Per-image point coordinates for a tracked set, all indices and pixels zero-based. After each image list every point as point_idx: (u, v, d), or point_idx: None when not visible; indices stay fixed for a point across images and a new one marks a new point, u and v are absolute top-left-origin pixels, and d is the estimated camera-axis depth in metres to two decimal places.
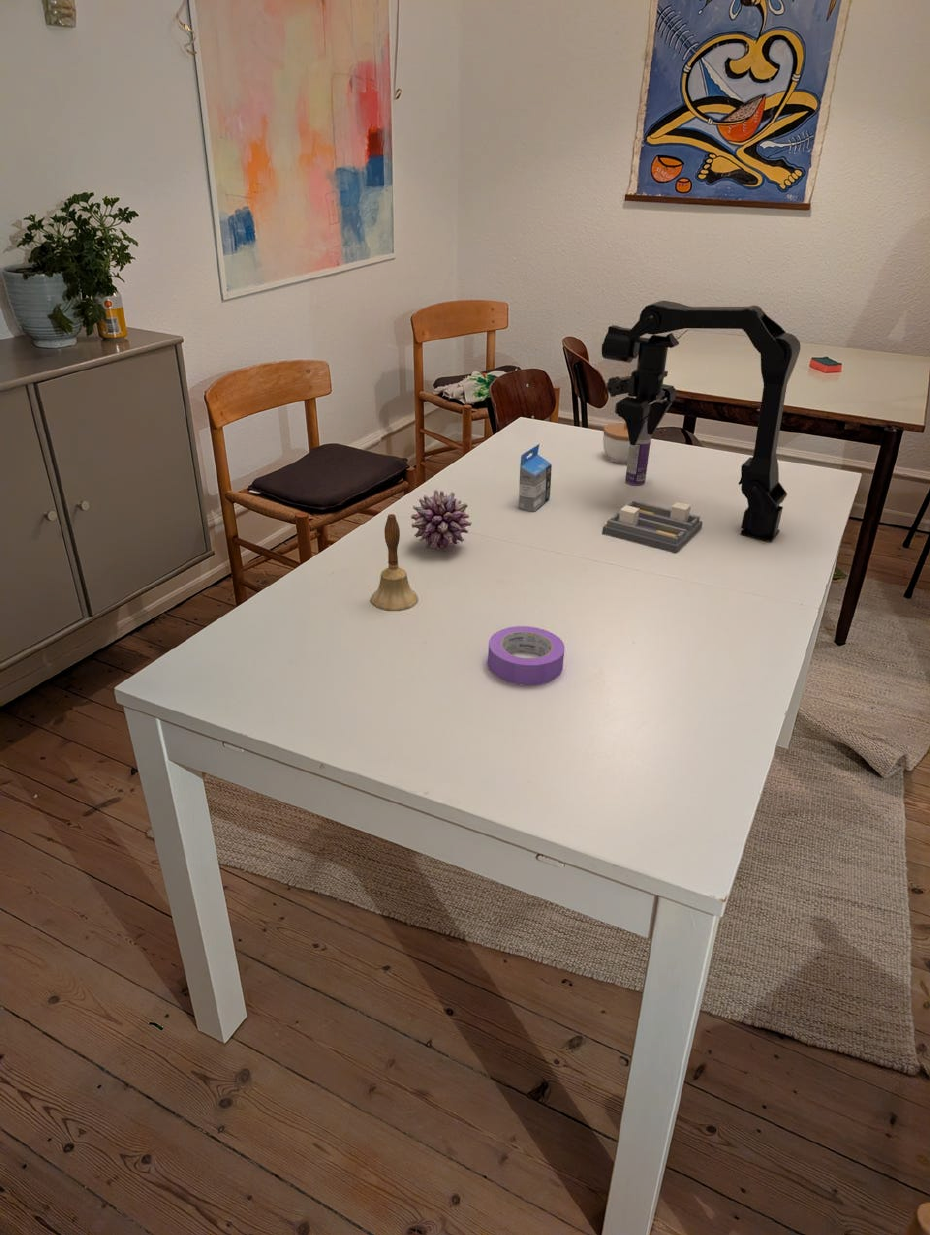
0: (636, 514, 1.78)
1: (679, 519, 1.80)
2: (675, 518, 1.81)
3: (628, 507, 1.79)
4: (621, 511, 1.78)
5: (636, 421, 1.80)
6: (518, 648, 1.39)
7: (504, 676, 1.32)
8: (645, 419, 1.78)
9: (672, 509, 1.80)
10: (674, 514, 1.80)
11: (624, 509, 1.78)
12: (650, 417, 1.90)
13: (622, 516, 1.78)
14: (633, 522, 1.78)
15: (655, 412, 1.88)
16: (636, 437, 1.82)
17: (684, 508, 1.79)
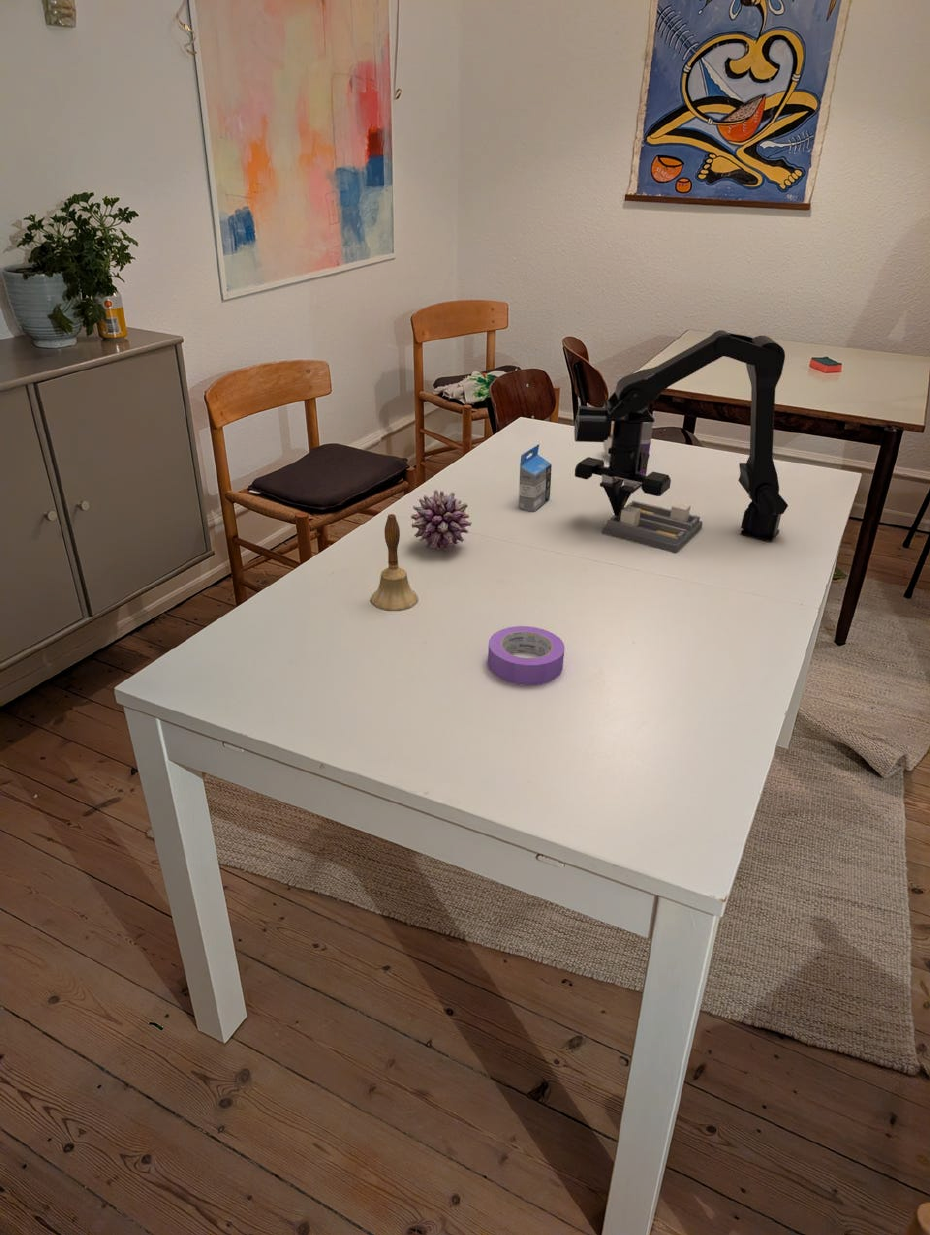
0: (637, 515, 1.78)
1: (679, 519, 1.80)
2: (675, 518, 1.81)
3: (629, 507, 1.79)
4: (622, 511, 1.78)
5: None
6: (518, 648, 1.39)
7: (504, 676, 1.32)
8: (604, 486, 1.76)
9: (672, 509, 1.80)
10: (674, 514, 1.80)
11: (625, 509, 1.78)
12: None
13: (623, 516, 1.78)
14: (634, 523, 1.78)
15: None
16: None
17: (684, 508, 1.79)
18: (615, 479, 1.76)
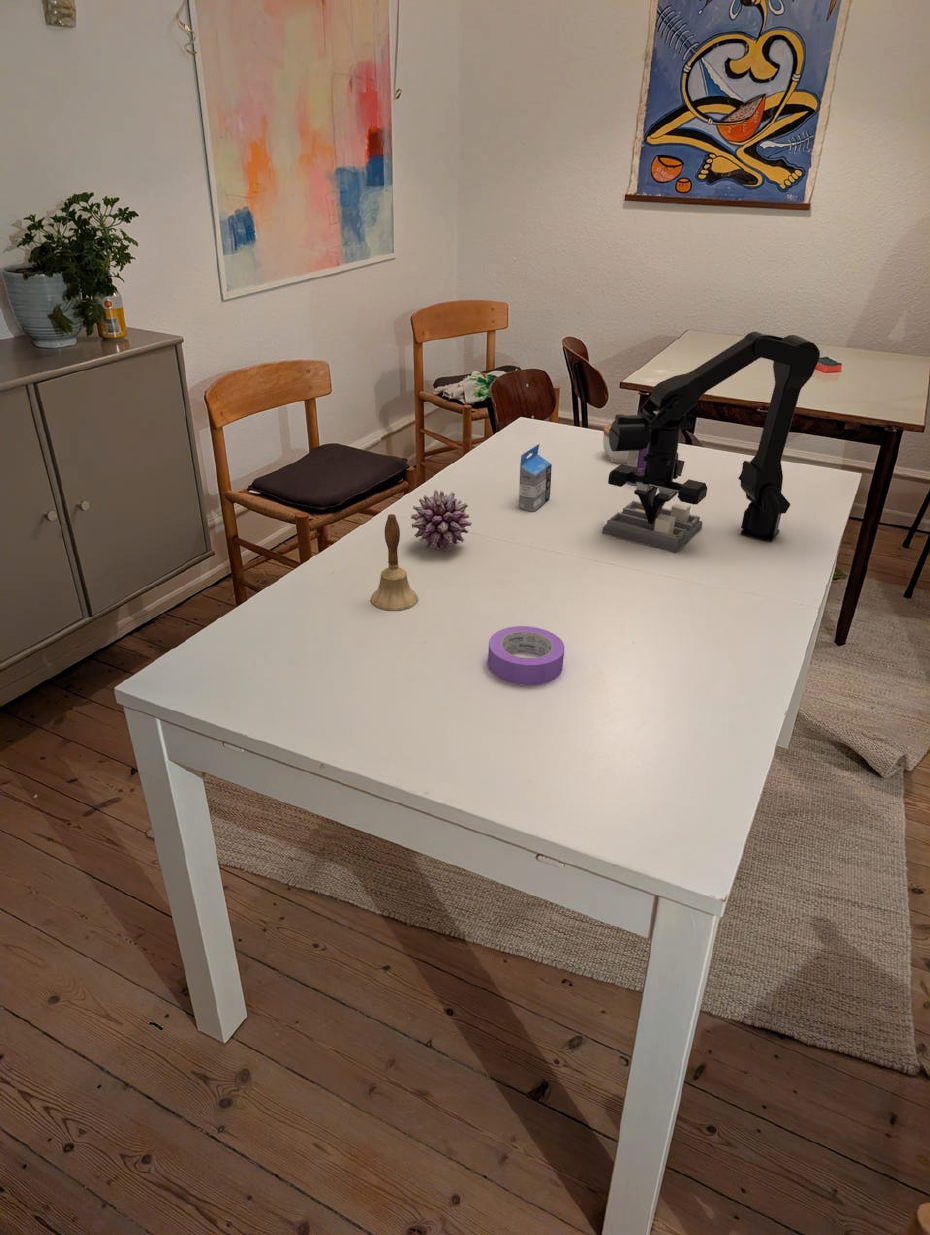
0: (672, 523, 1.74)
1: (679, 519, 1.80)
2: (675, 518, 1.81)
3: (663, 515, 1.76)
4: (657, 520, 1.74)
5: None
6: (518, 648, 1.39)
7: (504, 676, 1.32)
8: (638, 494, 1.72)
9: (672, 509, 1.80)
10: (674, 514, 1.80)
11: (660, 518, 1.74)
12: None
13: (658, 525, 1.75)
14: (669, 532, 1.74)
15: None
16: None
17: (684, 508, 1.79)
18: (650, 487, 1.73)
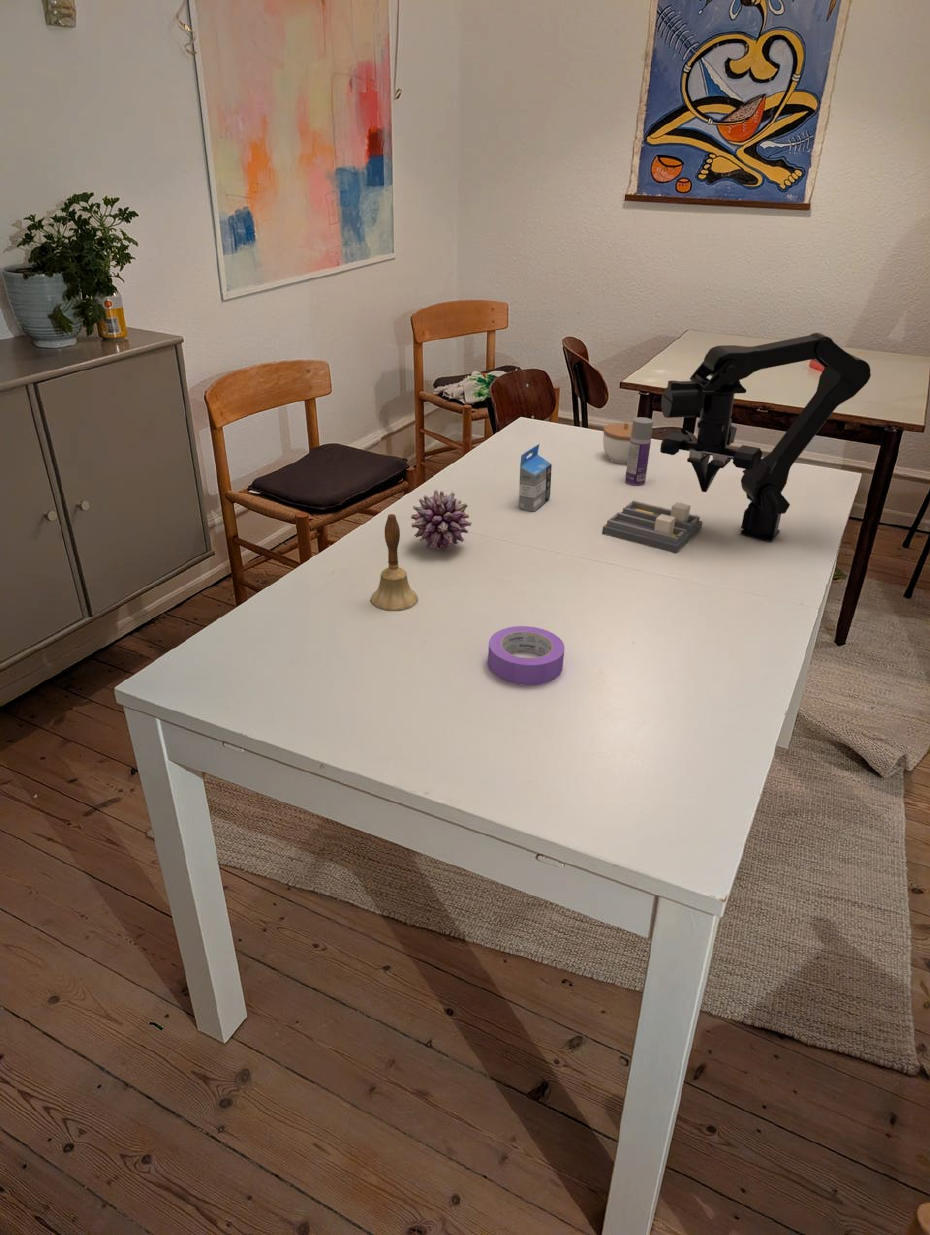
0: (672, 523, 1.74)
1: (679, 519, 1.80)
2: (675, 518, 1.81)
3: (663, 515, 1.76)
4: (657, 520, 1.74)
5: None
6: (518, 648, 1.39)
7: (504, 676, 1.32)
8: (692, 462, 1.71)
9: (672, 509, 1.80)
10: (674, 514, 1.80)
11: (660, 518, 1.74)
12: None
13: (658, 525, 1.75)
14: (669, 532, 1.74)
15: None
16: None
17: (684, 508, 1.79)
18: (703, 454, 1.71)
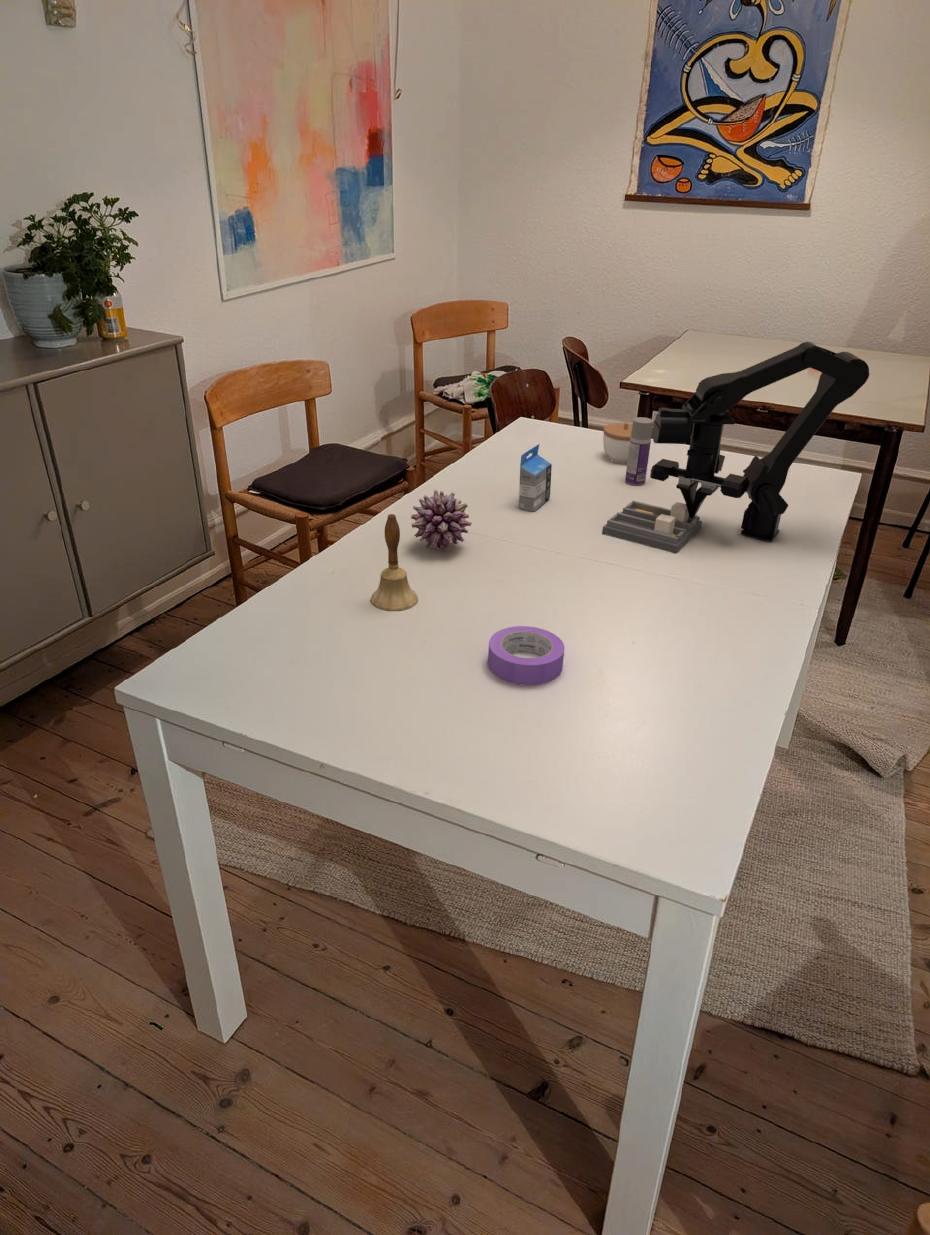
0: (672, 523, 1.74)
1: (679, 519, 1.80)
2: (675, 518, 1.81)
3: (663, 515, 1.76)
4: (657, 520, 1.74)
5: None
6: (518, 648, 1.39)
7: (504, 676, 1.32)
8: (681, 488, 1.76)
9: (672, 509, 1.80)
10: (673, 514, 1.80)
11: (660, 518, 1.74)
12: None
13: (658, 525, 1.75)
14: (669, 532, 1.74)
15: None
16: None
17: (684, 508, 1.79)
18: (692, 481, 1.76)
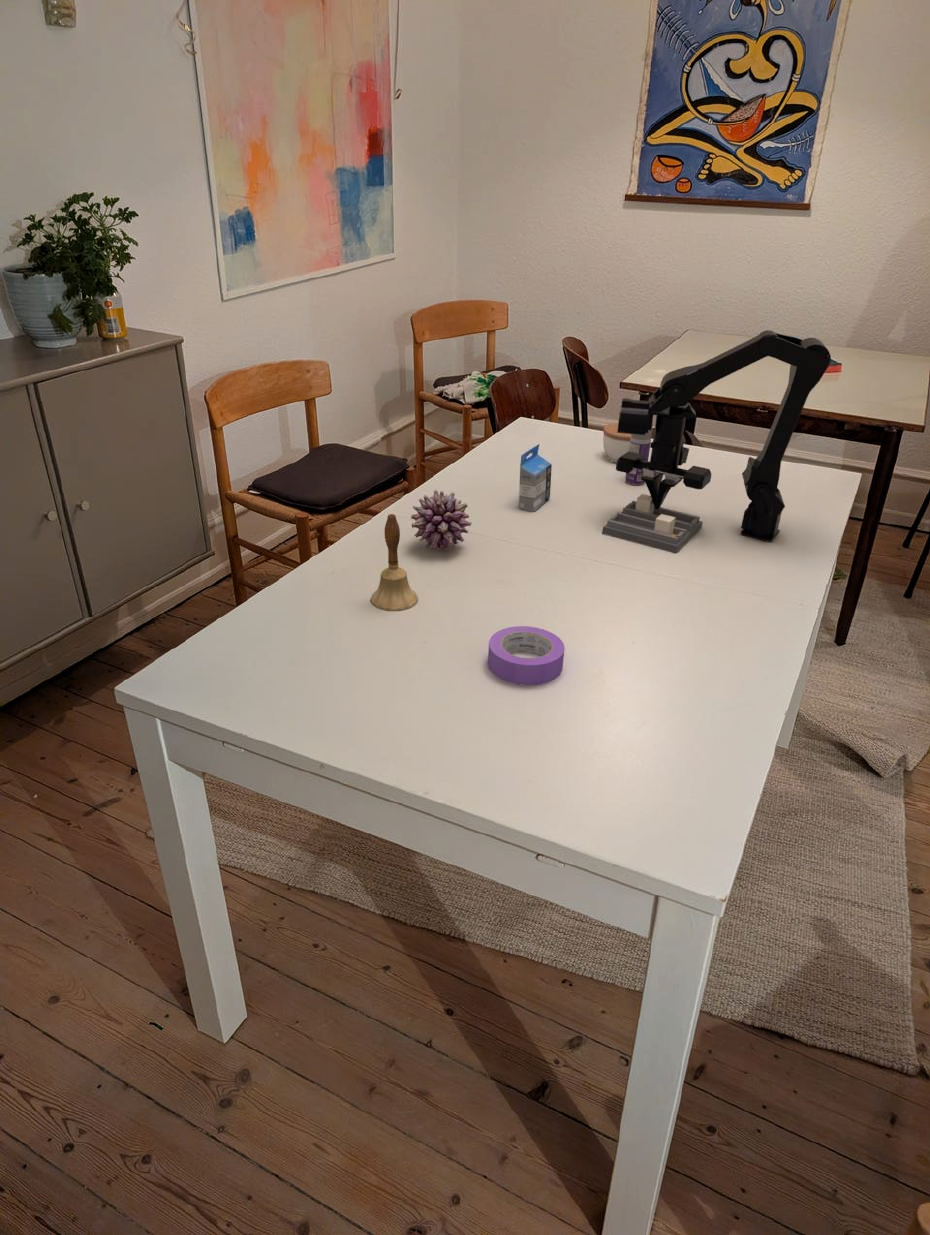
0: (672, 523, 1.74)
1: (644, 510, 1.84)
2: (640, 509, 1.84)
3: (663, 515, 1.76)
4: (657, 520, 1.74)
5: None
6: (518, 648, 1.39)
7: (504, 676, 1.32)
8: (645, 480, 1.79)
9: (637, 500, 1.84)
10: (639, 505, 1.84)
11: (660, 518, 1.74)
12: None
13: (658, 525, 1.75)
14: (669, 532, 1.74)
15: None
16: None
17: (649, 499, 1.83)
18: (656, 473, 1.79)
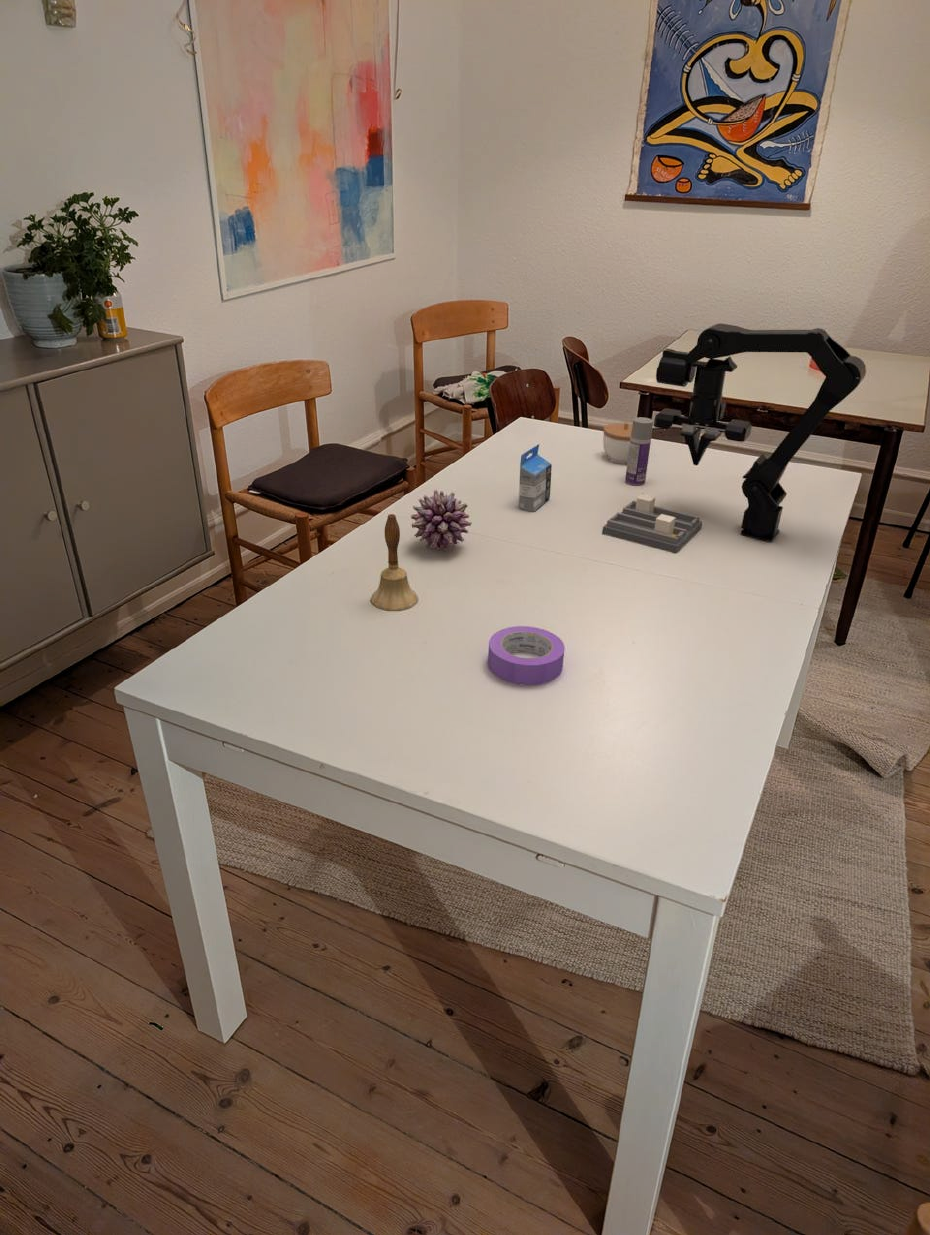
0: (672, 523, 1.74)
1: (644, 510, 1.84)
2: (640, 509, 1.84)
3: (663, 515, 1.76)
4: (657, 520, 1.74)
5: None
6: (518, 648, 1.39)
7: (504, 676, 1.32)
8: (685, 435, 1.78)
9: (637, 500, 1.84)
10: (639, 505, 1.84)
11: (660, 518, 1.74)
12: None
13: (658, 525, 1.75)
14: (669, 532, 1.74)
15: None
16: None
17: (649, 499, 1.83)
18: (695, 428, 1.79)
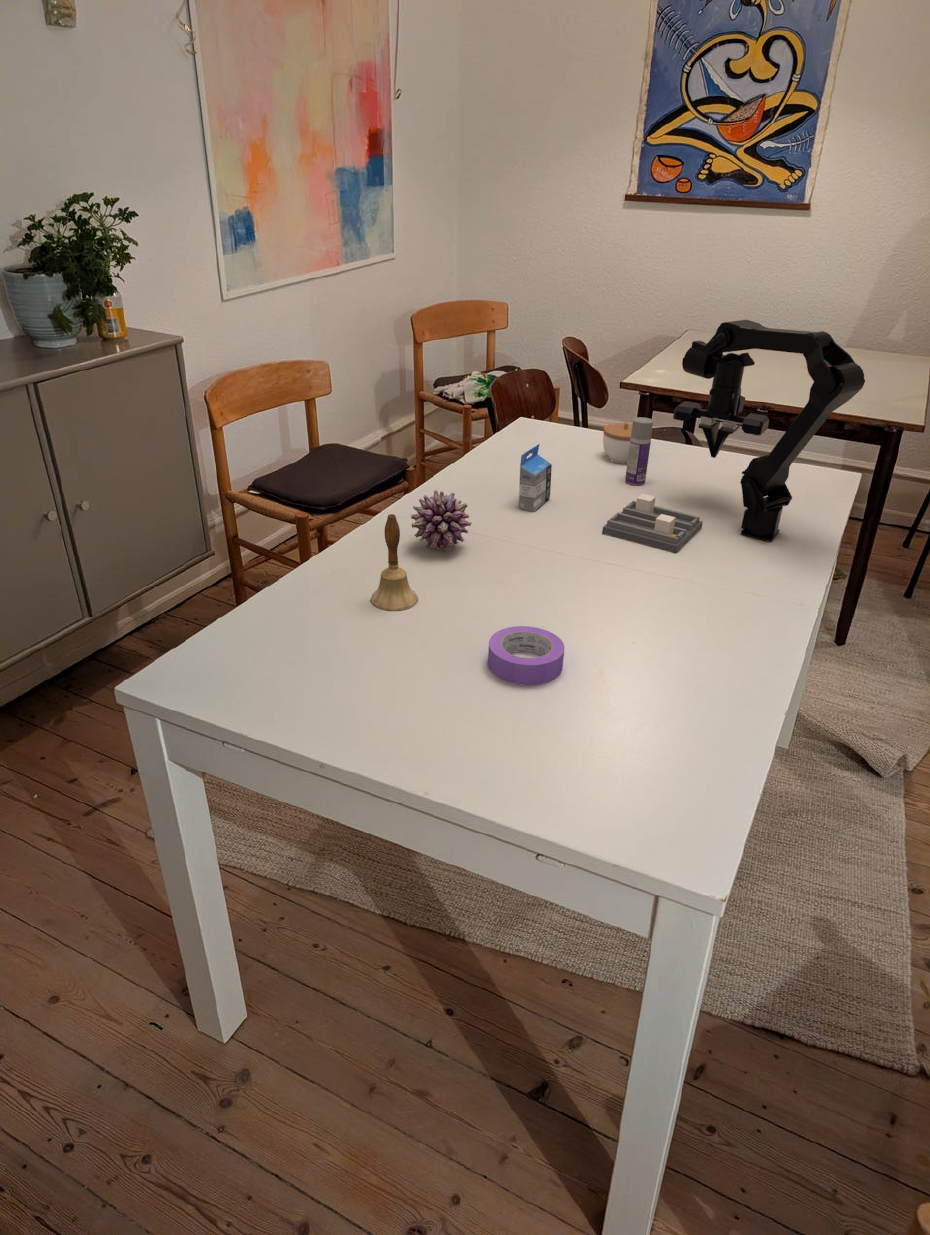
0: (672, 523, 1.74)
1: (644, 510, 1.84)
2: (640, 509, 1.84)
3: (663, 515, 1.76)
4: (657, 520, 1.74)
5: None
6: (518, 648, 1.39)
7: (504, 676, 1.32)
8: (703, 428, 1.83)
9: (637, 500, 1.84)
10: (639, 505, 1.84)
11: (660, 518, 1.74)
12: None
13: (658, 525, 1.75)
14: (669, 532, 1.74)
15: None
16: None
17: (649, 499, 1.83)
18: (714, 421, 1.83)
